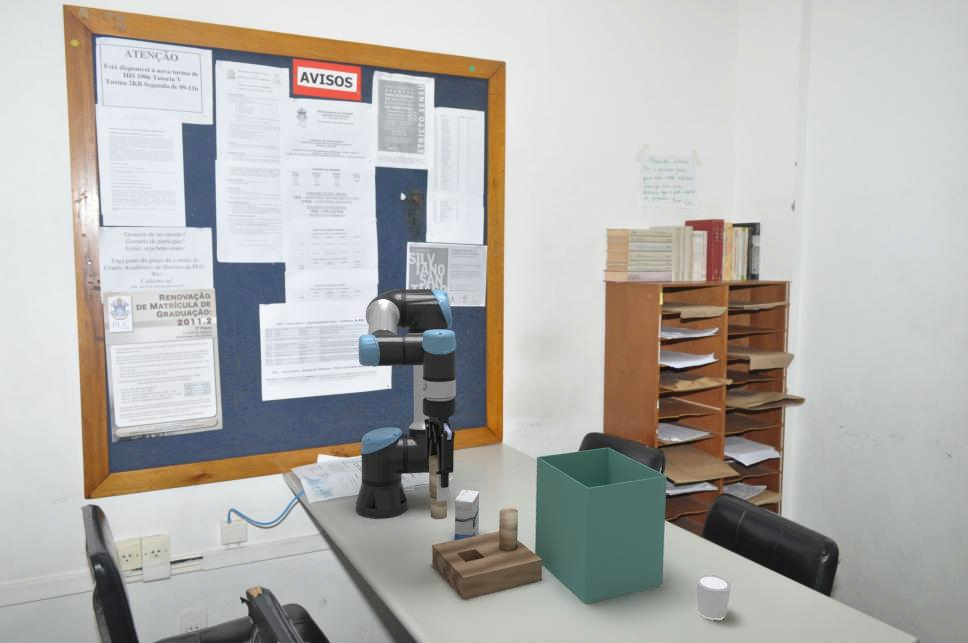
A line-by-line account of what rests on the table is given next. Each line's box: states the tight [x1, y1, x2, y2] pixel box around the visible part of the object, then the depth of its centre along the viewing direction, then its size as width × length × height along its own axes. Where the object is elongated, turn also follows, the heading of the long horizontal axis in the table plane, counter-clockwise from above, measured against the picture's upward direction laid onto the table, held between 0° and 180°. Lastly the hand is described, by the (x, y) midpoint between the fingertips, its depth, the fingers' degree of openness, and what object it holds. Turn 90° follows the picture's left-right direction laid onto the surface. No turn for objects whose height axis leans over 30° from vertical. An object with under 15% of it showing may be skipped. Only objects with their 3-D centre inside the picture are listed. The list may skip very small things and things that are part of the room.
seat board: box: [431, 507, 543, 600], centre depth 158 cm, size 18×20×14 cm
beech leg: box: [428, 455, 448, 520], centre depth 155 cm, size 4×4×14 cm
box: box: [534, 447, 668, 605], centre depth 158 cm, size 23×21×26 cm
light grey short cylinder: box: [695, 574, 732, 618], centre depth 141 cm, size 7×7×7 cm
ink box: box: [454, 489, 480, 540], centre depth 177 cm, size 8×5×12 cm, turn 168°
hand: (439, 496), depth 155 cm, fingers closed on beech leg, 4 cm apart
